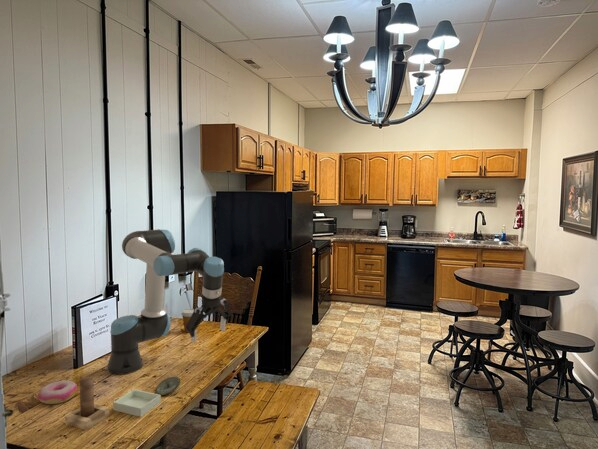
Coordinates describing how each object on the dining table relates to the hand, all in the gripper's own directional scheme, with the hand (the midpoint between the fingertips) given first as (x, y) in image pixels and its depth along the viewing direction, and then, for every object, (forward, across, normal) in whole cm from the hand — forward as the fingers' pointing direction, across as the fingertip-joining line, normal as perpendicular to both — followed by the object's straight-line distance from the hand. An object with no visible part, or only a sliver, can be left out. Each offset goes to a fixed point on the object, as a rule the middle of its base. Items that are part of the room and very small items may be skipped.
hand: (208, 335), depth 173 cm
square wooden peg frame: (+17, -48, 0) cm, 51 cm away
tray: (+18, -31, -3) cm, 36 cm away
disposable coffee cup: (+49, +24, +56) cm, 78 cm away
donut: (+26, -52, +23) cm, 63 cm away
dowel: (+17, -48, 0) cm, 51 cm away
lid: (+22, -17, 0) cm, 28 cm away
